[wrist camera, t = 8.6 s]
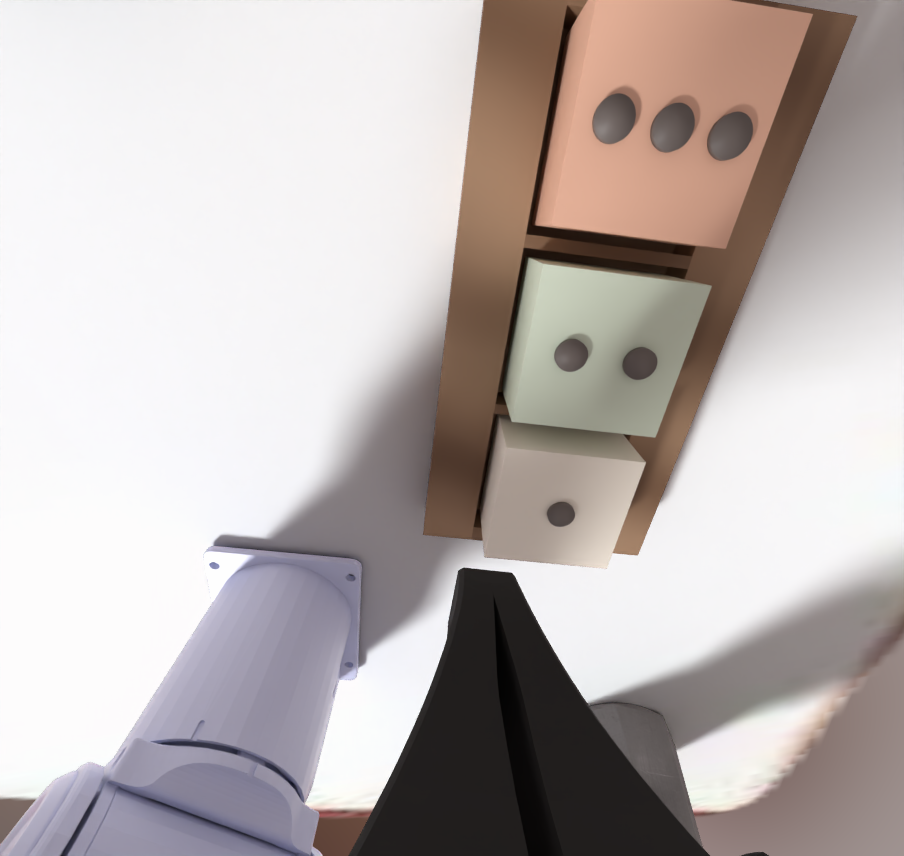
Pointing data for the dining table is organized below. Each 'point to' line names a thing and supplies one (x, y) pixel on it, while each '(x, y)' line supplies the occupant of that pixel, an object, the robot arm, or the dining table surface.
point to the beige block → (556, 493)
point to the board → (581, 250)
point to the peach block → (664, 116)
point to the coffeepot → (651, 756)
